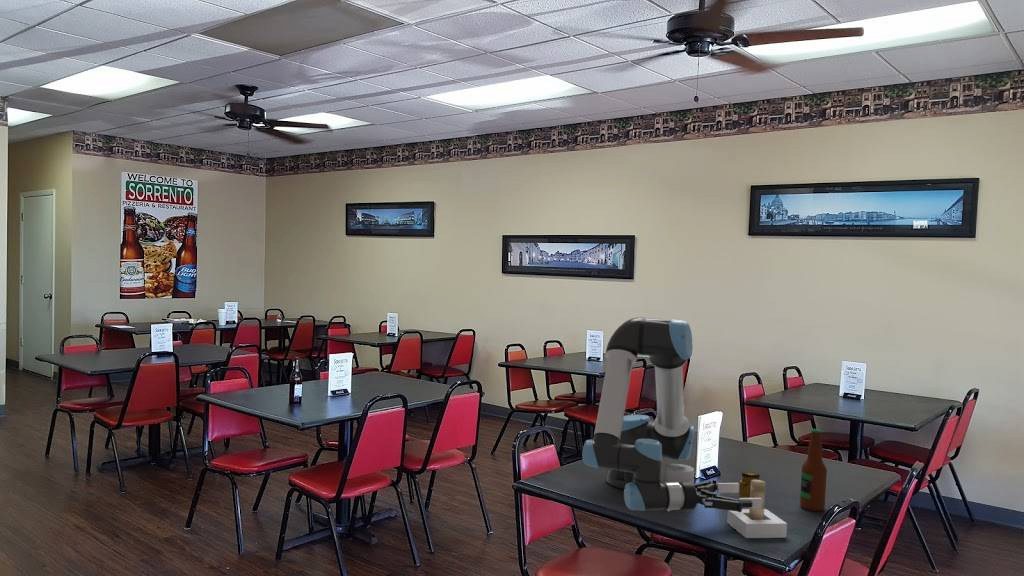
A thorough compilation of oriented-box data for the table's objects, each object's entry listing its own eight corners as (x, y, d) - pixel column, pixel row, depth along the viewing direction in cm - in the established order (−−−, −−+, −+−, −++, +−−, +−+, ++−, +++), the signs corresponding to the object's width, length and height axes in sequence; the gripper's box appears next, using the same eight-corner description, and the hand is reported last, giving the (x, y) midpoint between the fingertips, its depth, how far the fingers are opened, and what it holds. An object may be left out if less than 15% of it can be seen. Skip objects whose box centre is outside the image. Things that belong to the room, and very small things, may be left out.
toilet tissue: (678, 485, 249) (679, 460, 248) (697, 497, 236) (699, 471, 235) (654, 486, 246) (655, 461, 246) (672, 498, 234) (673, 472, 233)
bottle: (803, 502, 235) (808, 426, 234) (827, 508, 230) (831, 430, 230) (796, 507, 229) (800, 429, 229) (820, 513, 225) (825, 433, 224)
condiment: (743, 506, 229) (745, 468, 229) (769, 513, 223) (771, 474, 223) (732, 511, 224) (734, 472, 223) (759, 518, 218) (761, 479, 218)
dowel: (745, 527, 210) (748, 479, 209) (758, 527, 210) (761, 479, 210) (752, 532, 206) (755, 483, 205) (765, 532, 206) (768, 483, 206)
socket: (727, 522, 213) (727, 509, 213) (765, 522, 215) (766, 508, 215) (745, 538, 201) (746, 523, 201) (786, 537, 203) (787, 523, 203)
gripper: (662, 495, 216) (728, 494, 220) (697, 525, 192) (771, 523, 195) (663, 470, 216) (730, 469, 220) (698, 497, 191) (772, 496, 195)
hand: (749, 495), depth 207 cm, fingers open, 13 cm apart
